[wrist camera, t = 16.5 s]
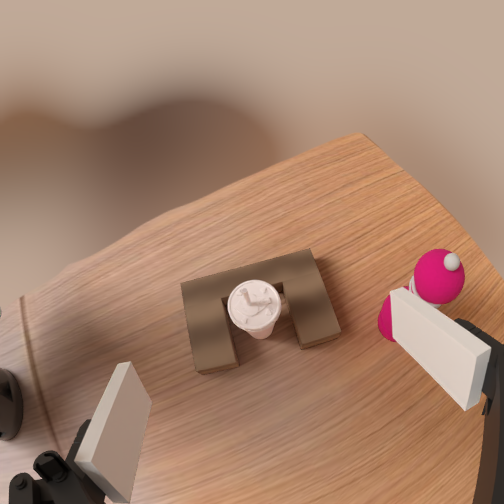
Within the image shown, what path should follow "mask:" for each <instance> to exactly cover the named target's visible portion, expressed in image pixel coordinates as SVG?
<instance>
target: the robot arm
mask: <svg viewBox="0 0 504 504" xmlns="http://www.w3.org/2000/svg"><path fill="white" fill-rule="evenodd" d="M390 298H391V313H392V333H393V338H394V339H395V340H396V341H397V342H398V343H399V344H400V345H401V346H402V347H403V348H404V349H405V350H406V351H407V352H408V353H409V354H410V355H411V356H412V357H413V358H414V359H415V360H416V361H417V362H418V363H419V364H420V365H421V366H422V367H423V368H424V369H425V370H426V371H427V372H428V373H429V374H430V375H431V376H432V377H433V378H434V379H435V380H436V382H437V383H438V384H439V385H440V386H441V387H442V388H443V389H444V390H445V391H446V392H447V393H448V394H449V395H450V396H451V397H452V398H453V399H454V400H455V401H456V402H457V403H458V404H459V405H460V406H461V408H462V409H463V410H464V411H466V410H468V409H470V408H471V407H473V406H474V405H476V404H477V403H479V400H480V397H481V393H482V392H483V393H484V394H485V395H486V396H487V399H486V402H485V406H484V409H483V412H482V415H484V414H485V421H484V434H483V444H482V452H481V460H480V467H479V473H478V479H477V484H476V489H475V494H474V499H473V503H472V504H504V345H503V344H501V343H500V342H498V341H497V340H495V339H494V338H492V337H491V336H490V335H488V334H487V333H485V332H484V331H483V332H482V330H481V329H479V328H478V327H477V328H476V326H475V325H473V324H472V323H470V322H469V321H466V320H462V319H459V318H458V319H456V320H454V321H453V320H452V319H450V318H449V317H447V316H446V315H444V314H443V313H441V312H440V311H438V310H437V309H435V308H434V307H432V306H431V305H429V304H428V303H426V302H425V301H423V300H422V299H420V298H419V297H417V296H416V295H414V294H413V293H411V292H410V291H408V290H407V289H405V288H404V287H401V288H398V289H395V290H392V291H390ZM0 317H1V308H0ZM151 406H152V401H151V399H150V397H149V395H148V394H147V392H146V390H145V388H144V386H143V384H142V382H141V380H140V378H139V376H138V374H137V372H136V370H135V368H134V366H133V364H132V362H131V361H129V362H124V363H118V364H117V366H116V368H115V370H114V372H113V375H112V377H111V379H110V381H109V383H108V385H107V387H106V389H105V391H104V394H103V396H102V398H101V400H100V402H99V404H98V407H97V409H96V411H95V413H94V415H93V418H92V419H89V420H86V421H85V423H84V424H83V425H82V426H81V427H80V429H79V431H78V433H77V437H76V438H75V440H74V444H72V446H71V449H70V451H69V453H68V456H67V458H66V460H65V461H64V460H63V459H62V457H61V456H60V455H59V454H58V453H57V452H55V451H46V452H43V453H42V454H40V455H39V456H38V457H37V458H36V459H35V461H34V464H33V469H34V470H35V471H36V472H37V473H38V474H39V475H40V477H41V478H42V479H40V480H34V479H33V478H32V477H31V476H30V475H29V474H28V473H20V474H17V475H16V476H14V477H13V479H12V480H11V482H10V486H9V504H106V503H105V502H104V499H105V495H106V496H107V497H108V498H109V499H110V500H111V501H112V502H115V503H130V500H131V495H132V490H133V485H134V480H135V475H136V470H137V466H138V461H139V457H140V452H141V448H142V443H143V439H144V435H145V431H146V426H147V422H148V418H149V414H150V410H151ZM22 415H23V404H22V397H21V392H20V389H19V386H18V384H17V382H16V380H15V378H14V377H13V376H12V374H11V373H10V372H8V371H7V370H5V369H2V368H0V440H9V439H12V438H13V437H14V436H15V435H16V434H17V432H18V430H19V428H20V425H21V422H22Z"/></svg>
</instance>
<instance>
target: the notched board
mask: <svg viewBox="0 0 504 504" xmlns="http://www.w3.org/2000/svg"><path fill="white" fill-rule="evenodd" d="M250 280H260V281H264V282H267V283H269V284H270V285H272V286H273V287H274V288H275V289H276V291H277V292H282V291H283V293H284V296H285V299H286V302H287V306H288V309H289V312H290V315H291V318H292V321H293V325H294V328H295V331H296V334H297V337H298V341H299V344H300V347H301V350H302V349H305V348H308V347H312V346H315V345H318V344H321V343H324V342H328V341H331V340H334V339H337V338H338V337H339V335H340V333H341V329H340V326H339V323H338V321H337V318H336V315H335V312H334V310H333V307H332V304H331V301H330V299H329V296H328V293H327V291H326V288H325V286H324V283H323V280H322V278H321V275H320V273H319V270H318V267H317V265H316V262H315V260H314V257H313V255H312V252H311V250H310V248H309V249H306V250H302V251H298V252H295V253H291V254H287V255H284V256H280V257H276V258H273V259H269V260H265V261H262V262H258V263H254V264H251V265H247V266H243V267H239V268H236V269H232V270H228V271H225V272H221V273H217V274H213V275H210V276H206V277H202V278H198V279H194V280H191V281H187V282H183V283H181V290H182V296H183V302H184V309H185V315H186V321H187V326H188V332H189V338H190V343H191V348H192V354H193V359H194V364H195V369H196V372H198V373H200V374H202V375H205V374H209V373H214V372H218V371H223V370H227V369H231V368H235V367H239V362H238V358H237V353H236V349H235V345H234V341H233V337H232V333H231V328H230V324H229V320H228V315H227V311H226V306H228V299H229V297H230V294H231V293H232V291H233V290H234V289H235V288H236V287H237V286H238V285H240V284H241V283H243V282H246V281H250Z"/></svg>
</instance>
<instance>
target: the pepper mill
mask: <svg viewBox="0 0 504 504" xmlns="http://www.w3.org/2000/svg"><path fill="white" fill-rule="evenodd" d="M464 281H465V274H464V268H463V265H462V263H461V261H460V259H459V257H458V255H456V254H455V253H452V252H450V251H448V250H445V249H434V250H431V251H428V252H427V253H425V254H424V255H423V256H422V257H421V258H420V259H419V261H418V263H417V264H416V267H415V270H414V275H413V276H412V278H411V280H410V283H409V286H404V288H405V289H407V290H408V291H410V292H411V293H413V294H414V295H416V296H417V297H419V298H420V299H422V300H423V301H425V302H426V303H428V304H429V305H431V306H432V307H434V308H435V309H437V308H439V307H440V306H441V305H442V304H446V303H449V302H451V301H452V300H454V299H455V298H456V297H457V296H458V295H459V293H460V292H461V290H462V288H463V285H464ZM378 326H379V329H380V332H381V333H382V335H383V336H384V337H385V338H387V339H388V340H390V341H393V342H397V341H396V340H395V339H394V338H393V333H392V313H391V298H390V295H389V296H388V297H387V298H386V300H385V301H384V304H383V307H382V310H381V312H380V314H379V317H378Z"/></svg>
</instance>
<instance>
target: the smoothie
mask: <svg viewBox="0 0 504 504" xmlns="http://www.w3.org/2000/svg"><path fill="white" fill-rule="evenodd" d="M228 312H229V315H230V318H231V319H232V321H233V322H234V324H235V325H237V326H238V327H239V328H241V329H243V330H245V331H247V332H248V333H249V334H250V335H251V336H252V337H254V338H256V339H265V338H267V337H268V336H270V334H271V333H272V331H273V328H274V324H275V322H276V321H277V319H278V317H279V315H280V313H281V300H280V297H279V294H278V292H277V291H276V289H275V288H274V287H273V286H272V285H270V284H269V283H267V282H264V281H260V280H250V281H246V282H243V283H241V284H240V285H238V286H237V287H236V288H235V289H234V290H233V291H232V293H231V294H230V297H229V299H228Z"/></svg>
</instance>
